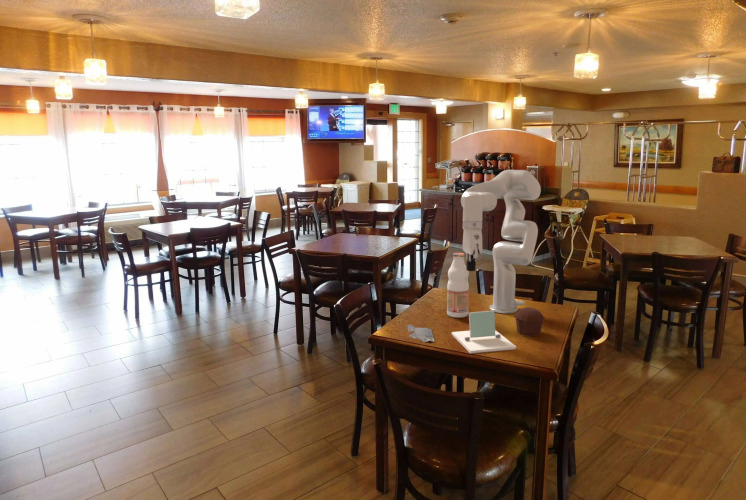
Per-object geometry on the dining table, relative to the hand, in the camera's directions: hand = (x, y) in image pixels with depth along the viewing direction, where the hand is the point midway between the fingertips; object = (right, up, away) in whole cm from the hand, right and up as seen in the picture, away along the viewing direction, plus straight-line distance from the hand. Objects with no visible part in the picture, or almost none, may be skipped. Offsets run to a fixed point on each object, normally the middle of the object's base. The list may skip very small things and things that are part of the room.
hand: (470, 270), depth 209 cm
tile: (+3, -20, -7) cm, 22 cm away
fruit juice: (-1, -21, +25) cm, 33 cm away
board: (+3, -27, -7) cm, 28 cm away
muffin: (+24, -25, +2) cm, 35 cm away
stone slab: (-20, -27, +1) cm, 33 cm away
